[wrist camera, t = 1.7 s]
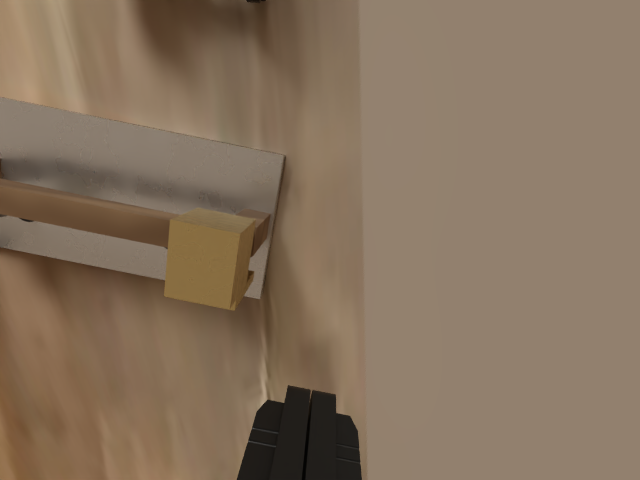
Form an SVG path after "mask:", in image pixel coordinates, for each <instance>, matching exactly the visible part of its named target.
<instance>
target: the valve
mask: <svg viewBox="0 0 640 480" xmlns="http://www.w3.org/2000/svg"><path fill="white" fill-rule="evenodd" d="M246 1H247V2H252V3H260V2H261V1H266V0H246Z"/></svg>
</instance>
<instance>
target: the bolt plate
mask: <svg viewBox="0 0 640 480" xmlns="http://www.w3.org/2000/svg"><path fill="white" fill-rule="evenodd" d="M0 158H1V175H2V179H6V180H11V181H16V182H21V183H26V184H31V185H36V186H41V187H46V188H50V189H55V190H60V191H65V192H70V193H75V194H80V195H85V196H90V197H95V198H100V199H105V200H110V201H115V202H119V203H124V204H129V205H134V206H139V207H144V208H149V209H154V210H159V211H164V212H169V213H174V214H179V215H182V214H184V213H186V212H189V211H191V210H193V209H196V208H202V209H207V210H212V211H217V212H222V213H227V214H232V215H236V214H237V213H239V212H240V211H242V210H243V209H245V208H247V209H252V210H256V211H261V212H266V213H271V215H270V221H269V227H268V234H267V239H266V240H265V241H264V242H263V244H262V245H261V246H260V248H259V249H258V250H257V252H256V253H255V254H254V256H253V257H250V263H249V269H248V270H251V271H255V272H254V278H253V282H252V283H251V285H250V286H249V288H248V290H247V291H246V293H245V295H244V296H246V297H251V298H256V299H260V298H261V296H262V294H263V288H264V282H265V276H266V270H267V264H268V258H269V252H270V246H271V240H272V234H273V228H274V222H275V216H276V210H277V204H278V198H279V192H280V186H281V180H282V173H283V167H284V161H285V155H281V154H276V153H272V152H267V151H262V150H257V149H252V148H247V147H242V146H238V145H233V144H228V143H223V142H218V141H213V140H208V139H203V138H199V137H194V136H189V135H184V134H179V133H174V132H169V131H165V130H160V129H155V128H150V127H145V126H140V125H135V124H131V123H126V122H121V121H116V120H111V119H106V118H101V117H96V116H92V115H87V114H82V113H77V112H72V111H67V110H62V109H58V108H53V107H48V106H43V105H38V104H33V103H28V102H24V101H19V100H14V99H9V98H4V97H0ZM0 247H2V248H7V249H12V250H17V251H22V252H27V253H32V254H37V255H42V256H47V257H52V258H56V259H61V260H66V261H71V262H76V263H81V264H86V265H91V266H96V267H101V268H106V269H111V270H116V271H121V272H126V273H131V274H136V275H141V276H146V277H151V278H156V279H161V280H165V277H166V264H167V252H168V248H166V247H161V246H156V245H151V244H146V243H141V242H136V241H131V240H127V239H122V238H117V237H112V236H107V235H102V234H97V233H92V232H87V231H82V230H77V229H72V228H67V227H62V226H57V225H52V224H47V223H42V222H37V221H32V220H27V219H22V218H17V217H13V216H5V217H0Z"/></svg>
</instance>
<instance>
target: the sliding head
mask: <svg viewBox="0 0 640 480" xmlns="http://www.w3.org/2000/svg"><path fill="white" fill-rule="evenodd" d="M255 223H256V219H252V218H247V217H242V216H237V215H232V214H227V213H222V212H217V211H212V210H207V209H202V208H196V209H193V210H191V211H189V212H186V213H184V214H182V215H180V216H177V217H175V218H173V219H170V227H169V240H168V252H167V264H166V277H165V289H164V297H169V298H174V299H178V300H183V301H188V302H193V303H198V304H203V305H208V306H213V307H218V308H223V309H228V310H233V311H235V309H236V307H237V306H238V304H239V303H240V301H241V299H242V298H243V296H244V295H245V293H246V291H247V290H248V288H249V286H250V285H251V283H252V282H253V278H254V272H255V271H251V270H248V269H249V263H250V256H251V250H252V243H253V236H254V230H255Z"/></svg>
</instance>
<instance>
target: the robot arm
mask: <svg viewBox="0 0 640 480" xmlns="http://www.w3.org/2000/svg"><path fill="white" fill-rule="evenodd" d="M309 401H310V403H309ZM237 480H362V477H361V465H360V452H359V440H358V431H357V429H356V427H355V425H354V423H353V421H352V419H351V417H350V416H348V415H343V414H338V413H336V395H335V394H330V393H325V392H320V391H315V390H313V391H312V394H311V398H310V389H305V388H299V387H294V386H289V385H288V388H287V393H286V398H285V403H281V402H276V401H271V400H267V401H266V402H265V403H264V404H263V405H262V406H261V408H260V409H259V410H258V411H257V413H256V416H255V420H254V423H253V426H252V430H251V433H250V437H249V440H248V443H247V447H246V450H245V453H244V457H243V460H242V464H241V467H240V470H239V474H238V477H237Z"/></svg>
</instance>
